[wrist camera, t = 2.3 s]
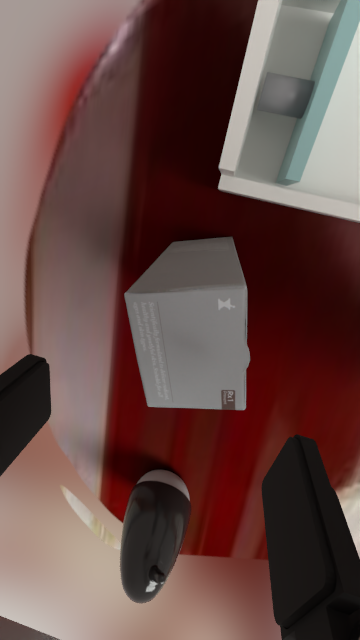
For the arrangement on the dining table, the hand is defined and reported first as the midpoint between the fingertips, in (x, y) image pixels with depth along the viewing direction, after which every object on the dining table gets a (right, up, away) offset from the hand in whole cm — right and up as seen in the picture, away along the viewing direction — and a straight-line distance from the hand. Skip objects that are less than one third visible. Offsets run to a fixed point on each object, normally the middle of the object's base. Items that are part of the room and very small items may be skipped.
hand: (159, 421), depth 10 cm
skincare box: (+4, +9, +18) cm, 21 cm away
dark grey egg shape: (-2, -24, +35) cm, 42 cm away
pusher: (+9, +20, +10) cm, 25 cm away
